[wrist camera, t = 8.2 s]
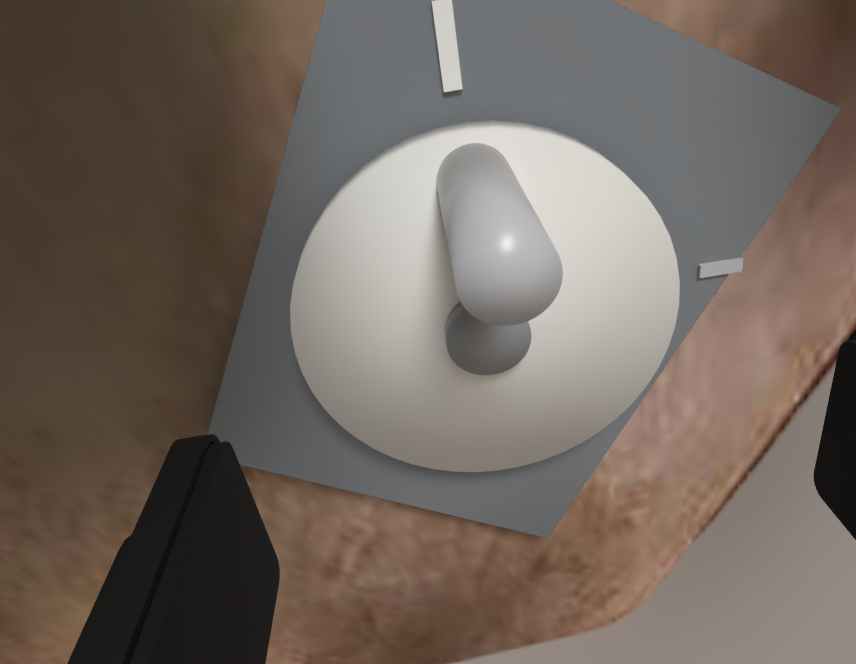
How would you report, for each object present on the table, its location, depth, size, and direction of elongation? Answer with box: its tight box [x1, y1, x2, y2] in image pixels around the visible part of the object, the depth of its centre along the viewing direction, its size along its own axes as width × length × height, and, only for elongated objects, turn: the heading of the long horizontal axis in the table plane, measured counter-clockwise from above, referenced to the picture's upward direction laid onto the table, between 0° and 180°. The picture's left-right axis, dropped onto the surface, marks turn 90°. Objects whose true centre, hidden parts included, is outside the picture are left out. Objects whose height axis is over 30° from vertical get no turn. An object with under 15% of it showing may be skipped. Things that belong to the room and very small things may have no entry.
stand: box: [207, 0, 841, 538], centre depth 25 cm, size 22×17×2 cm
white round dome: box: [290, 120, 680, 472], centre depth 21 cm, size 14×14×8 cm
